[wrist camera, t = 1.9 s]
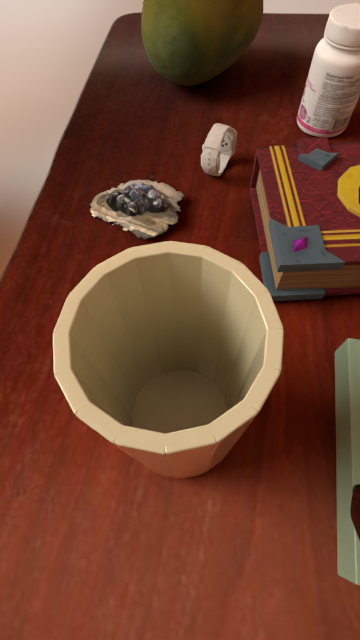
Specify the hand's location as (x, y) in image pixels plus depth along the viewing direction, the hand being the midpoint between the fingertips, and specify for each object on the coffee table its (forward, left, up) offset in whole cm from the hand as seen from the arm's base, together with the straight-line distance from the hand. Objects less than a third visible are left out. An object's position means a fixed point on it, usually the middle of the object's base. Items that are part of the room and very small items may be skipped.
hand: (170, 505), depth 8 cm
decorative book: (+20, -10, -11) cm, 25 cm away
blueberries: (+20, +8, -11) cm, 25 cm away
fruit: (+41, +6, -11) cm, 43 cm away
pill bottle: (+34, -7, -11) cm, 37 cm away
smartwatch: (+26, +2, -11) cm, 29 cm away
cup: (+4, +1, -11) cm, 12 cm away
